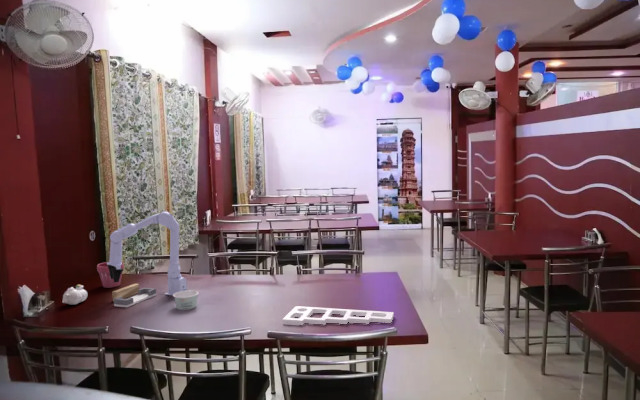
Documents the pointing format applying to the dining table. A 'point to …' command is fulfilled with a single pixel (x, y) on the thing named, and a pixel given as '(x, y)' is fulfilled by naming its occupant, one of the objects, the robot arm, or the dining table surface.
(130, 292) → the oak slat
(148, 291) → the cradle
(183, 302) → the food container
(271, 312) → the dining table surface
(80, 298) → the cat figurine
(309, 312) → the holder
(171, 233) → the robot arm
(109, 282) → the plant pot
